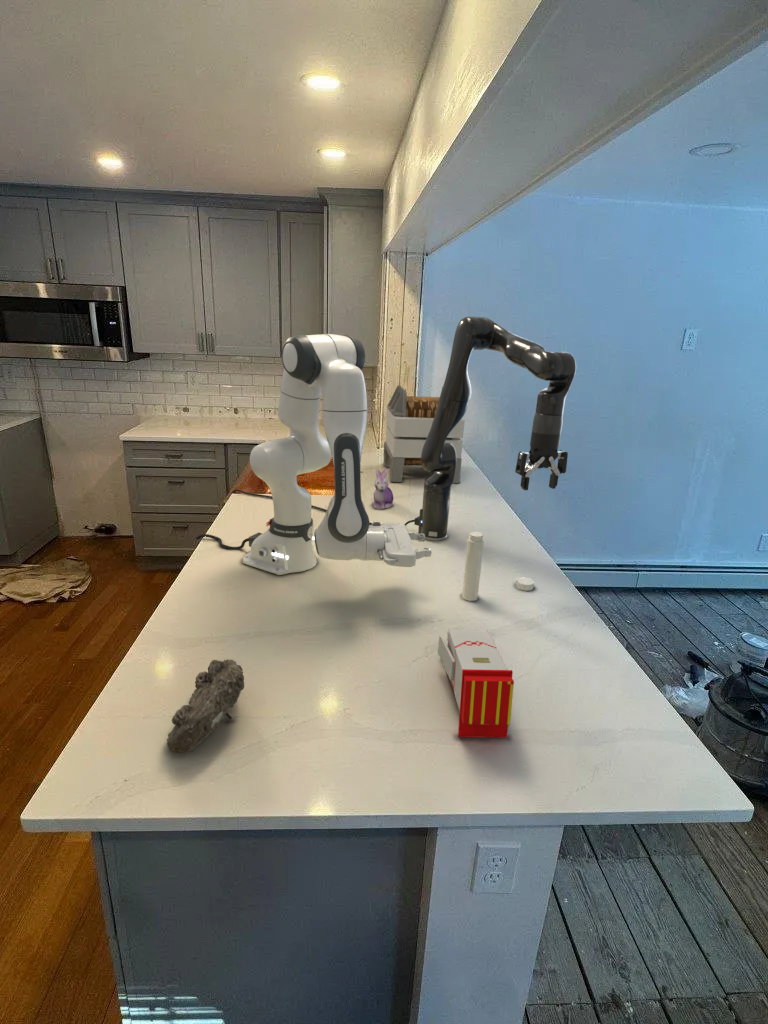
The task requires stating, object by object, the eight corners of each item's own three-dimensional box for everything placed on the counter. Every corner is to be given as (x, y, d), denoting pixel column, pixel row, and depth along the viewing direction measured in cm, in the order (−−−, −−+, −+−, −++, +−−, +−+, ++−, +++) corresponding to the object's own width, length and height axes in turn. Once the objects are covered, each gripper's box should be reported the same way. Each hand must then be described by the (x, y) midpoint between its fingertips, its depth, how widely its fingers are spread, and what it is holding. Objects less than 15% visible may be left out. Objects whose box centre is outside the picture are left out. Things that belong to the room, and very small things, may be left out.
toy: (488, 613, 130) (523, 677, 101) (484, 667, 133) (517, 744, 104) (435, 612, 130) (455, 676, 101) (432, 666, 133) (451, 743, 103)
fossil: (192, 660, 117) (244, 628, 112) (224, 691, 120) (276, 661, 115) (142, 746, 98) (202, 712, 93) (182, 779, 101) (242, 748, 96)
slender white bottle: (461, 599, 156) (468, 536, 150) (462, 592, 160) (469, 530, 154) (477, 601, 156) (484, 537, 149) (477, 594, 159) (484, 532, 153)
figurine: (377, 511, 221) (379, 474, 216) (366, 503, 229) (367, 467, 224) (399, 508, 225) (401, 471, 220) (387, 500, 233) (388, 465, 228)
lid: (528, 582, 168) (529, 576, 168) (536, 590, 164) (537, 584, 163) (512, 583, 167) (513, 577, 167) (520, 591, 162) (521, 585, 162)
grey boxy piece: (382, 463, 289) (386, 382, 275) (445, 464, 293) (451, 384, 279) (390, 482, 257) (394, 392, 243) (460, 483, 261) (468, 394, 247)
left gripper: (380, 550, 139) (436, 550, 141) (373, 518, 158) (422, 519, 160) (379, 573, 141) (433, 573, 143) (372, 539, 160) (420, 540, 162)
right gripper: (561, 426, 155) (553, 483, 161) (515, 427, 151) (508, 486, 157) (578, 432, 148) (568, 491, 154) (530, 433, 144) (522, 494, 150)
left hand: (427, 544), depth 151 cm, fingers open, 8 cm apart
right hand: (538, 488), depth 155 cm, fingers open, 8 cm apart
